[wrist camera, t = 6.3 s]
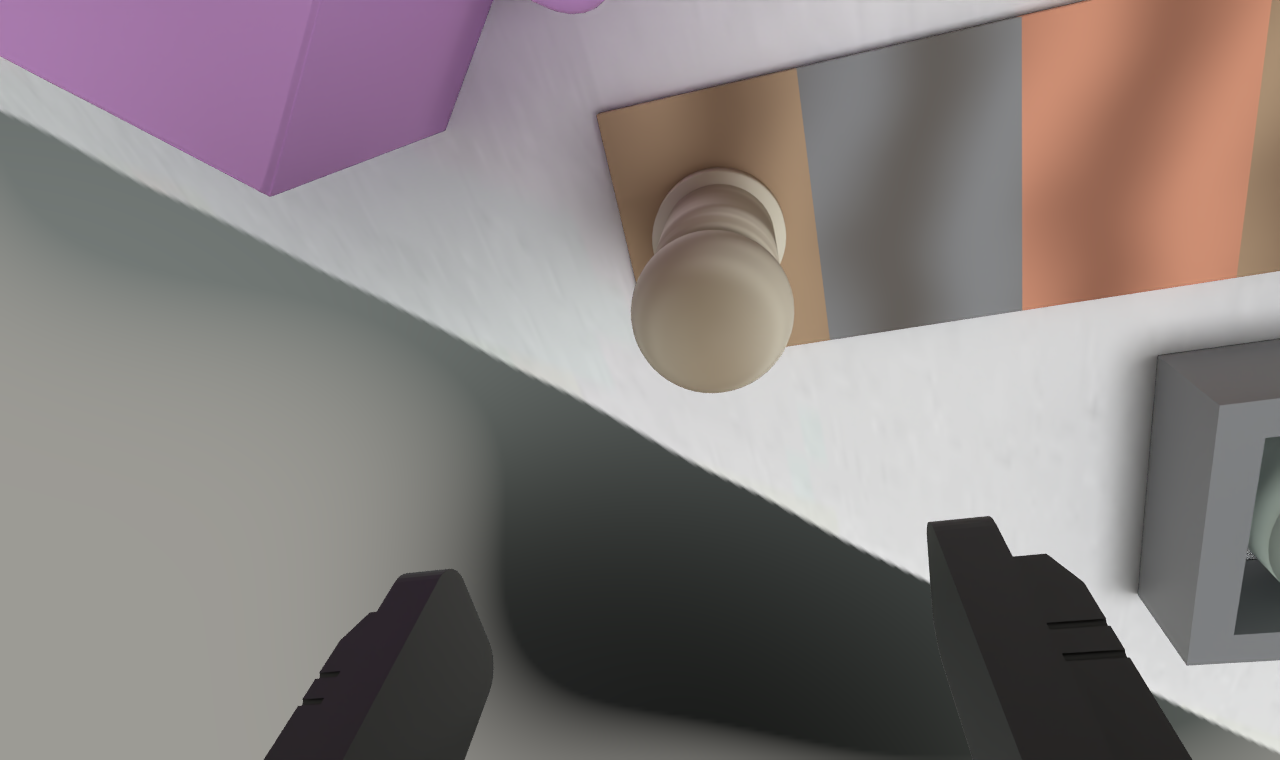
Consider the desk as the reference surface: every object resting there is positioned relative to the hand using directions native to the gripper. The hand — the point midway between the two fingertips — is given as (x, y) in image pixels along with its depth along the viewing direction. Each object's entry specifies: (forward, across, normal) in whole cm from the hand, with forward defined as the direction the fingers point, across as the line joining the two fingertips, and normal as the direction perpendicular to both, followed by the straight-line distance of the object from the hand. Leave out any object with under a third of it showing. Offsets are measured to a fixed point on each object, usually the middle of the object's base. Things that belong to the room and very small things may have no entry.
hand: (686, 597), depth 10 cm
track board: (+20, -10, 0) cm, 22 cm away
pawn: (+19, 0, 0) cm, 19 cm away
